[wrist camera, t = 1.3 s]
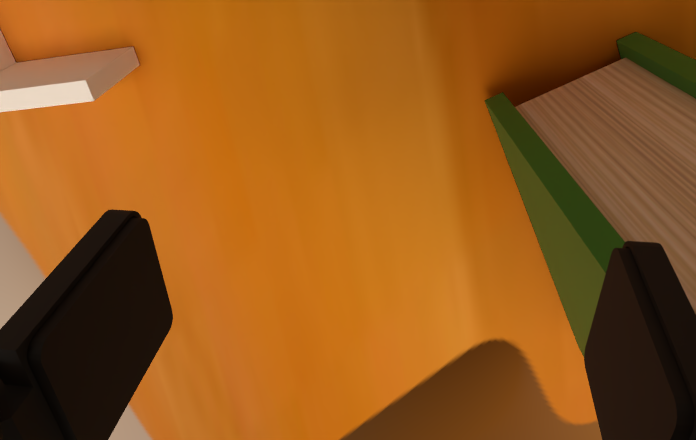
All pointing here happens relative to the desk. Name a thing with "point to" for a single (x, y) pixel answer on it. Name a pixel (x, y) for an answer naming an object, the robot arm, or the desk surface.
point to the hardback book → (608, 169)
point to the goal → (60, 77)
